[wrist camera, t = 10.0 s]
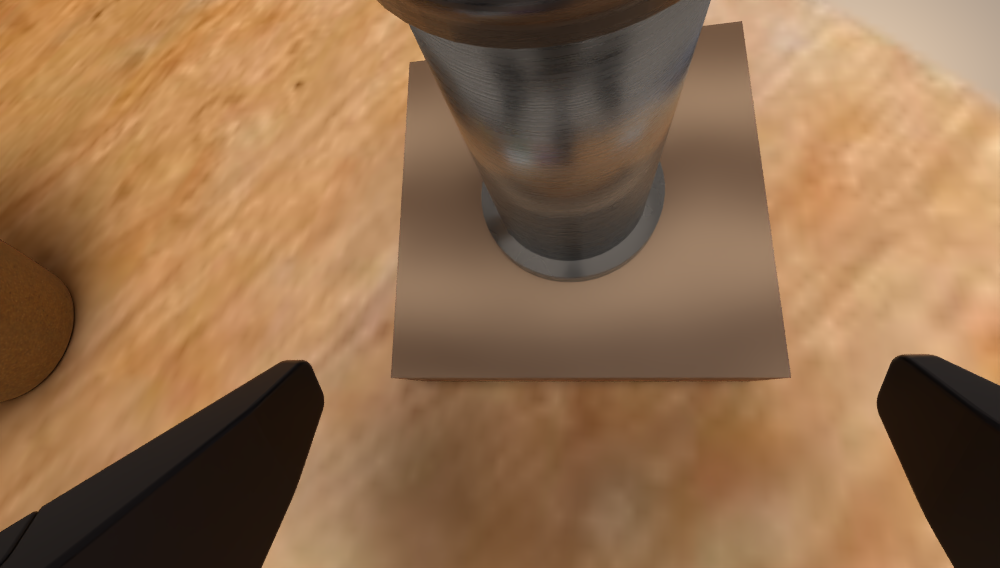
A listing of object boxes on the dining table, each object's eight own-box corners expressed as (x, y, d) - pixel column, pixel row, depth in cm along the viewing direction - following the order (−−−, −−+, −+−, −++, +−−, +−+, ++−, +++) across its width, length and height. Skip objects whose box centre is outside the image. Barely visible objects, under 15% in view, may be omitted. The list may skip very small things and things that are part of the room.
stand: (749, 381, 19) (791, 377, 15) (425, 380, 22) (390, 377, 18) (715, 85, 22) (741, 21, 19) (436, 113, 25) (409, 62, 21)
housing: (590, 318, 17) (605, 104, 4) (452, 218, 19) (193, -126, 6) (698, 175, 17) (980, -373, 5) (553, 92, 19) (495, -454, 7)
